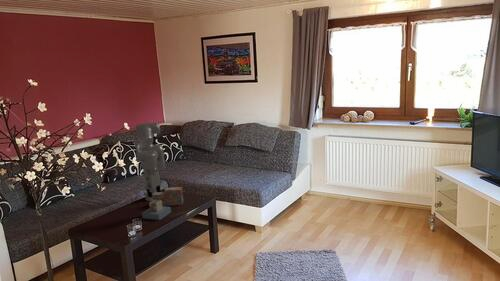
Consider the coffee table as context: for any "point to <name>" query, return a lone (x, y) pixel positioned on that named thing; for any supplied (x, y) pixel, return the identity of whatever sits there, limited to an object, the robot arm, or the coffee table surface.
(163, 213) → the slate base plinth
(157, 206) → the cream block
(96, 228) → the coffee table surface
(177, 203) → the stack of blocks
